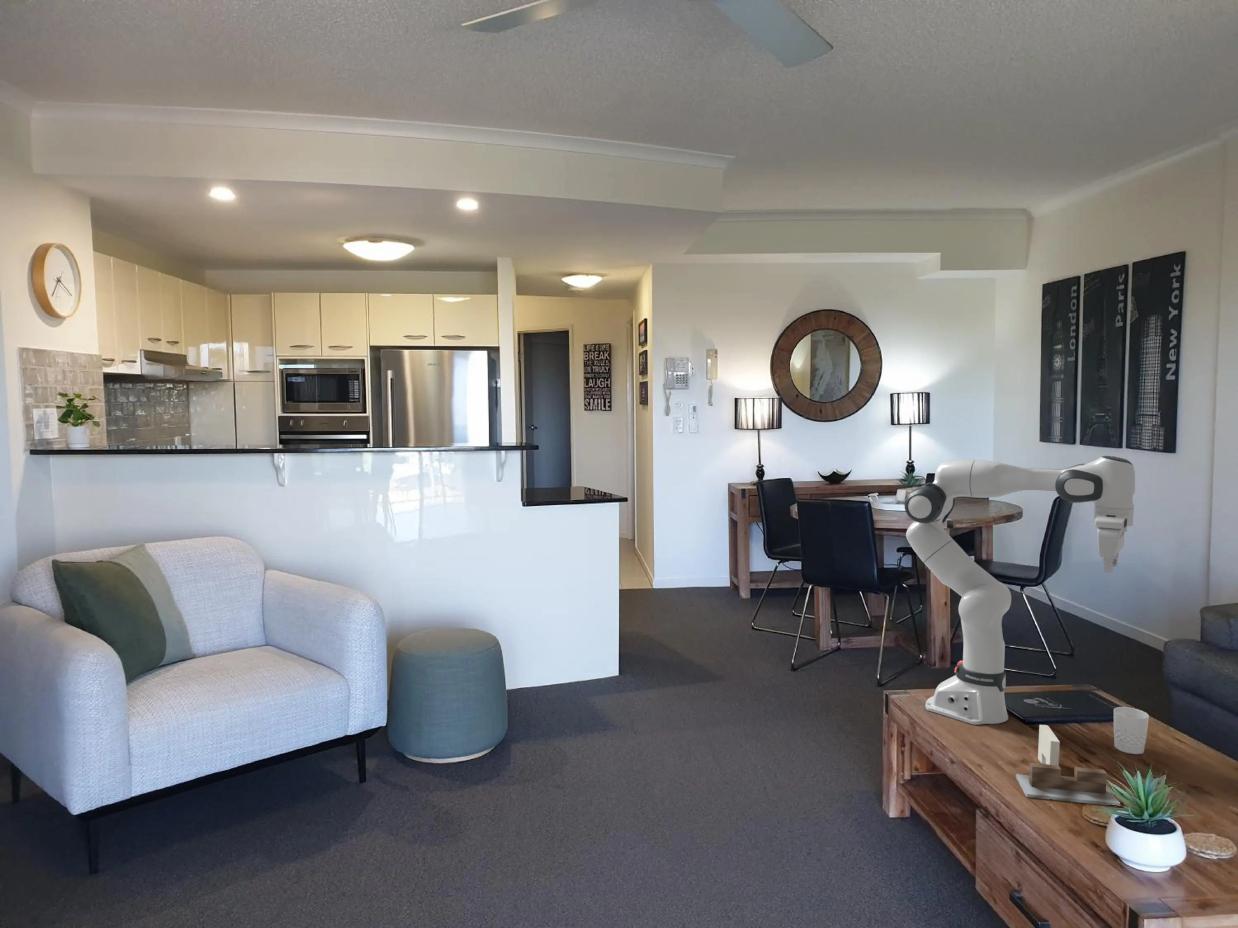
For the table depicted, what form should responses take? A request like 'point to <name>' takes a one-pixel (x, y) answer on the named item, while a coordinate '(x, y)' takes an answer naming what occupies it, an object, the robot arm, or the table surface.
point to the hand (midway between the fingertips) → (1110, 569)
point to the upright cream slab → (1048, 746)
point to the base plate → (1067, 785)
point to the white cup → (1130, 729)
